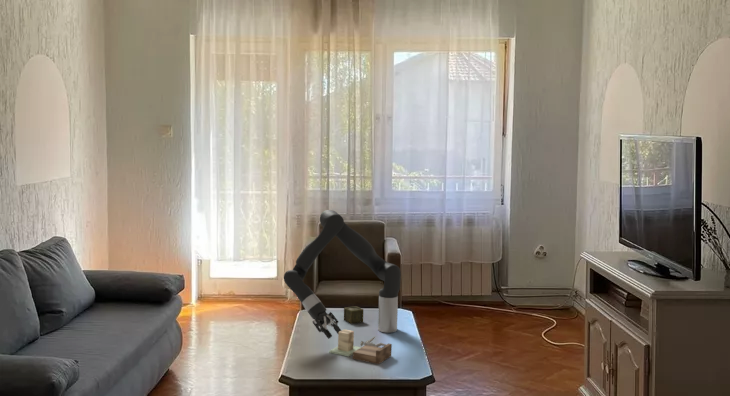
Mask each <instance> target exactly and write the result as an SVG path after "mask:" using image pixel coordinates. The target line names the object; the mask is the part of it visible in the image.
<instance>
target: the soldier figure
mask: <svg viewBox="0 0 730 396" xmlns="http://www.w3.org/2000/svg"><path fill="white" fill-rule="evenodd" d="M375 339H376V336H373V337H372V338H371V339H369V340H366V341H362V340H361V342H360V347H363V346H365V345H369V346H375V347H381V346H382V347H383V346H385V345H387V344H386V343H382V342H378V343H376V344H375V343H373V341H374V340H375Z"/></svg>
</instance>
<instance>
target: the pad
mask: <svg viewBox="0 0 730 396" xmlns="http://www.w3.org/2000/svg"><path fill="white" fill-rule="evenodd" d="M361 347H362V346H357V345H353V349H352V350H350V351H348V352H347V351H342V350H338V346H335V347H334V348H332V349H330V350H329V352H328V353H329V354H333V355H334V354H335V355H339V356H345V357H351V356H353V352H354V351H356V350H358V349H360V348H361Z"/></svg>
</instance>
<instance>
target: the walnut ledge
mask: <svg viewBox="0 0 730 396" xmlns="http://www.w3.org/2000/svg"><path fill="white" fill-rule="evenodd" d="M360 347H361V348H360V349H358V350H356V351H354V352H353V355H352V360H357V361H362V362H367V363H373V364H378V365H380V364H382V363H383V362H384V361H386V360H387V359H389V358H391V357H392V349H393V348H392V347H393V345H392V343H387V344H386V345H385V346H382V347H381V346H379V347H375V346H369V345H362V346H360Z"/></svg>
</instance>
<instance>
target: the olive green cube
mask: <svg viewBox="0 0 730 396" xmlns="http://www.w3.org/2000/svg"><path fill="white" fill-rule="evenodd" d="M343 321H344V322H346V323H348V324H350V325H353V324H361V323H364V309H363V308H361V307H360V306H356V305H355V306H348V307H344V308H343Z"/></svg>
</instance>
